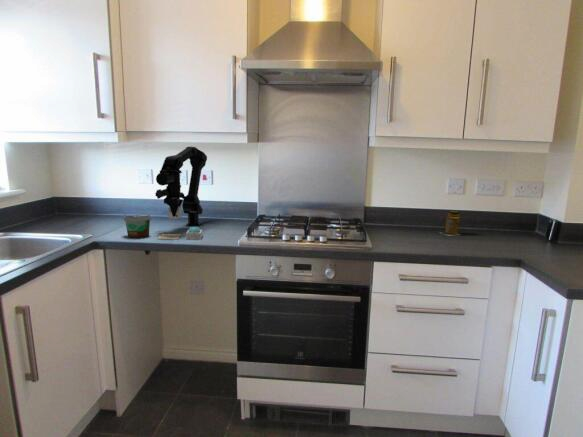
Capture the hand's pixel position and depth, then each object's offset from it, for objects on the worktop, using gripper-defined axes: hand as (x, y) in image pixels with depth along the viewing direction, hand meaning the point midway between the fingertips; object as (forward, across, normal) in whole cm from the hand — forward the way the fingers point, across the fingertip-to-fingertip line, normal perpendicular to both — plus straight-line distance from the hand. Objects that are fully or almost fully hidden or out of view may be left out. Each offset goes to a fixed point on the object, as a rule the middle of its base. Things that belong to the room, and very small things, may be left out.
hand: (175, 215), depth 180 cm
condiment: (+8, +4, +140) cm, 140 cm away
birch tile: (+8, +9, -1) cm, 13 cm away
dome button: (+8, +11, +11) cm, 17 cm away
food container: (+9, +9, -16) cm, 20 cm away
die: (+1, 0, 0) cm, 1 cm away
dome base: (+8, +11, +11) cm, 17 cm away
